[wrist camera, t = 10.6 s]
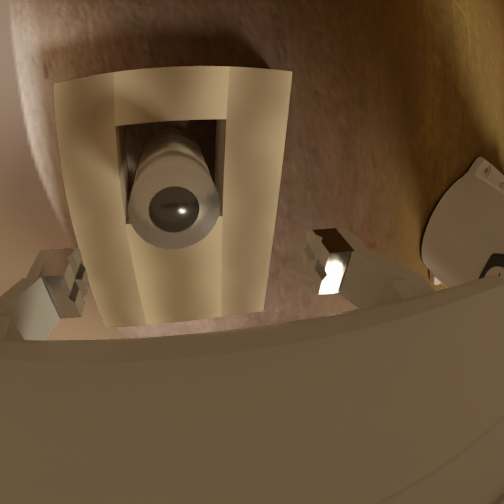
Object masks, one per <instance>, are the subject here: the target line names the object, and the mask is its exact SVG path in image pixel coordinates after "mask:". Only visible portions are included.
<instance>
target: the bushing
mask: <svg viewBox="0 0 504 504" xmlns="http://www.w3.org/2000/svg"><path fill="white" fill-rule="evenodd" d="M219 212H220V200H219V195H218V192H217V190H216V187H215V185H214V182H213V180H212V177H211V175H210V172H209V170H208V167H207V165H206V162H205V160H204V157H203V155H202V152H201V150H200V147H199V145H198V143H197V141H196V140H195V138H194V137H193V136H192V135H190V134H189V133H187V132H186V131H183V130H180V129H165V130H162V131H159V132H157V133H156V134H154V135H153V136H152V137H151V138H150V139H149V140H148V141H147V143H146V144H145V146H144V148H143V152H142V155H141V158H140V162H139V165H138V169H137V172H136V176H135V179H134V183H133V187H132V191H131V195H130V199H129V204H128V215H129V219H130V222H131V225H132V227H133V228H134V230H135V231H136V233H137V234H138V235H139V236H140V237H141V238H142V239H143V240H145V241H146V242H148V243H149V244H151V245H154V246H156V247H159V248H164V249H180V248H185V247H189V246H191V245H194V244H196V243H197V242H199V241H201V240H202V239H203V238H205V237H206V236H207V235H208V234H209V233H210V232H211V230H212V229H213V228H214V226H215V224H216V222H217V219H218V217H219Z"/></svg>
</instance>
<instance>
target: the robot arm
mask: <svg viewBox="0 0 504 504" xmlns="http://www.w3.org/2000/svg"><path fill="white" fill-rule="evenodd" d="M306 242H307V243H308V246H307V247H306V248H305V249H304V250H303V256H302V261H303V268H304V271H305V272H306V274H307V275H308V276H310V277H312V282H311V283H312V285H313V287H314V288H315V290H316V292H317V294H318V295H321V294H329V293H337V292H339V294H340V295H342V296H343V297H345V298H346V299H347V300H349V301H350V302H351V303H353V304H354V305H355V306H357V307H358V308H360V309H357V310H352V311H347V312H342V313H337V314H331V315H326V316H320V317H315V318H309V319H303V320H297V321H290V322H284V323H277V324H271V325H264V326H256V327H249V328H241V329H233V330H225V331H216V332H207V333H197V334H187V335H175V336H162V337H148V338H131V339H109V340H67V341H66V340H64V341H63V340H56V341H55V340H45V339H46V337H47V336H48V334H50V332H51V331H52V330H53V328H54V327H55V326H56V325H57V323H58V322H59V321H60V318H75V317H81V315H82V311H83V307H84V300H83V297H84V296H85V295H86V294H87V291H88V275H87V271H86V268H85V267H84V266H83V265H82V264H80V263H81V260H82V255H81V252H80V250H79V249H78V248H77V247H73V248H60V249H47V250H42V251H40V252H39V254H38V256H37V257H36V259H35V261H34V263H33V265H32V267H31V269H30V271H29V273H28V275H27V277H26V278H23V279H21V280H20V281H19V282H18V283H16V284H15V285H14V286H13V287H12V288H10V289H9V290H8V291H7V292H5V293H4V294H3V295H2V296H1V297H0V504H504V175H503V174H502V173H501V172H500V171H498V170H497V169H496V168H495V167H494V166H493V165H492V164H490V163H489V162H488V161H487V160H486V159H484V158H483V157H478V158H477V159H476V160H475V162H474V163H473V164H472V166H471V167H470V169H469V171H468V172H467V173H466V174H465V175H464V176H463V177H461V178H460V179H459V180H458V181H456V182H455V183H454V184H453V185H452V186H451V187H450V188H449V189H448V191H447V192H446V193H445V194H444V196H443V197H442V199H441V200H440V202H439V203H438V205H437V206H436V208H435V210H434V212H433V214H432V216H431V218H430V220H429V223H428V225H427V228H426V231H425V234H424V238H423V242H422V260H423V262H424V264H425V266H426V267H427V268H428V269H429V271H430V281H431V282H432V283H433V284H435V285H438V284H441V283H442V284H443V285H445V286H446V287H447V288H446V289H442V290H439V291H435V290H434V289H433V288H432V287H431V286H430V284H429V283H428V282H427V281H426V280H425V279H424V278H423V276H422V275H421V274H419V273H417V272H415V271H413V270H411V269H409V268H407V267H405V266H403V265H401V264H399V263H397V262H395V261H392V260H390V259H388V258H386V257H384V256H382V255H380V254H378V253H376V252H374V251H372V250H367V249H366V248H365V247H364V246H363V245H362V244H361V243H360V241H359V240H358V239H357V238H356V237H355V236H354V235H353V234H352V233H351V231H350V230H349V229H348V228H346V227H340V228H330V229H318V230H309V231H308V233H307V235H306Z"/></svg>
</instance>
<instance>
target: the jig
mask: <svg viewBox="0 0 504 504" xmlns="http://www.w3.org/2000/svg"><path fill="white" fill-rule="evenodd" d="M291 81H292V72H290V71H282V70H273V69H262V68H249V67H230V66H177V67H159V68H146V69H135V70H126V71H118V72H111V73H104V74H98V75H92V76H87V77H82V78H77V79H72V80H67V81H63V82H58V83H54V84H53V93H54V111H55V123H56V134H57V142H58V150H59V158H60V164H61V171H62V177H63V182H64V188H65V193H66V198H67V203H68V207H69V212H70V216H71V221H72V225H73V229H74V233H75V237H76V240H77V244H78V248H79V250H80V252H81V255H82V262H83V265H84V267H85V268H86V271H87V275H88V281H89V284H90V286H91V290H92V292H93V295H94V298H95V301H96V304H97V307H98V309H99V312H100V315H101V317H102V320H103V322H104V325H105V327H106V328H112V327H127V326H139V325H151V324H162V323H172V322H181V321H191V320H199V319H208V318H216V317H224V316H232V315H239V314H246V313H253V312H260V311H263V308H264V301H265V294H266V287H267V280H268V273H269V265H270V258H271V250H272V243H273V235H274V227H275V220H276V212H277V204H278V196H279V188H280V179H281V171H282V163H283V154H284V145H285V137H286V128H287V119H288V109H289V100H290V91H291ZM206 119H216V142H215V176H214V185H215V187H216V190H217V192H218V195H219V200H220V212H219V217H218V219H217V222H216V224H215V226H214V228H213V229H212V230H211V232H210V233H209V234H208V235H207V236H206V237H205V238H203V239H202V240H201V241H199V242H197V243H196V244H194V245H191V246H189V247H185V248H180V249H164V248H159V247H156V246H154V245H151V244H149V243H148V242H146V241H145V240H143V239H142V238H141V237H140V236H139V235H138V234H137V233H136V231H135V230H134V228H133V227H132V225H131V222H130V219H129V215H128V204H129V199H130V186H129V177H128V166H127V153H126V138H125V125H129V124H139V123H150V122H163V121H179V120H206Z"/></svg>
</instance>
